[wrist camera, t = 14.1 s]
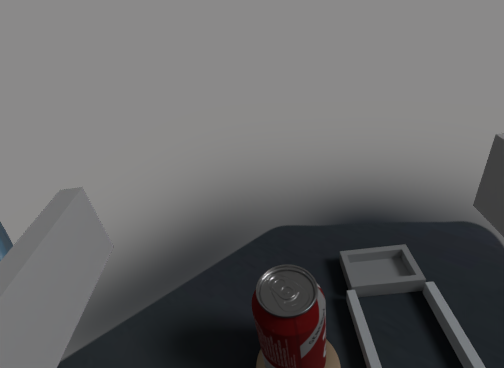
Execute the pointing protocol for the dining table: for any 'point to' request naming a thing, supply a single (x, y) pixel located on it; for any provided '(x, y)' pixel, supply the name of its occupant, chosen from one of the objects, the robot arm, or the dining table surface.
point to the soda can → (290, 318)
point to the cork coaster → (331, 358)
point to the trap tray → (381, 271)
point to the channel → (441, 312)
